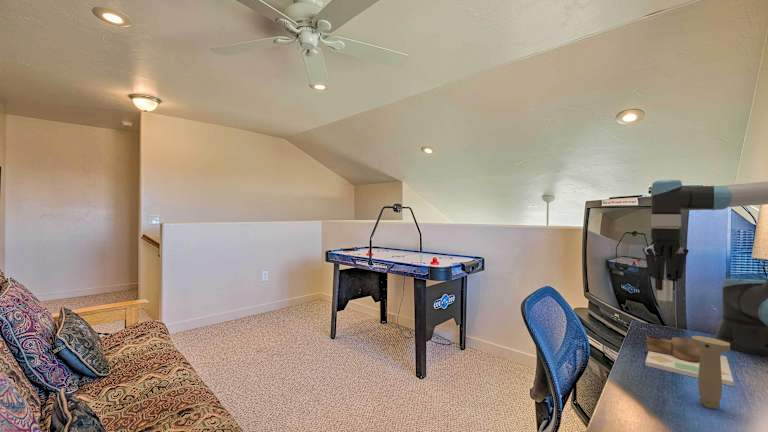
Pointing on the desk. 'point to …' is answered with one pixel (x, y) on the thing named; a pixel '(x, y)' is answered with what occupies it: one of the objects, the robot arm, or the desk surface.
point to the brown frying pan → (675, 347)
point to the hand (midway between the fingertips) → (664, 300)
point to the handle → (710, 369)
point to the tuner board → (685, 365)
